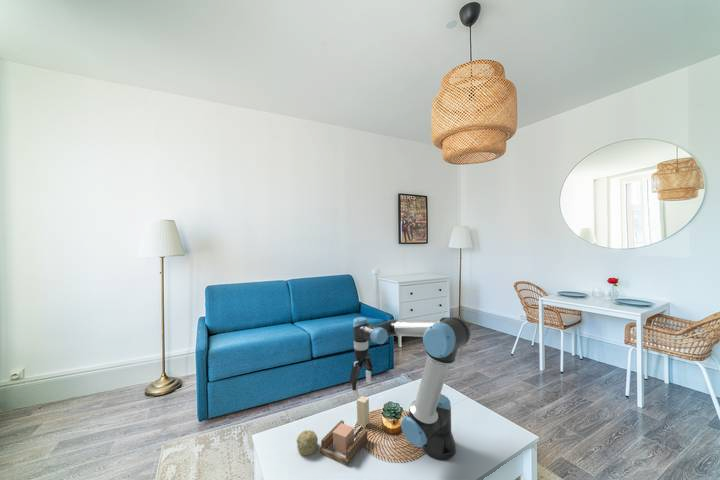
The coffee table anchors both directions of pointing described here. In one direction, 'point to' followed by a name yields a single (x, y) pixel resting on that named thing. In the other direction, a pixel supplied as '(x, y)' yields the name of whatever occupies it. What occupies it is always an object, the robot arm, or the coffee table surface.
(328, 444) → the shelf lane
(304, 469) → the coffee table surface
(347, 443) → the pair of rectangular blocks
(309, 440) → the decorative object
